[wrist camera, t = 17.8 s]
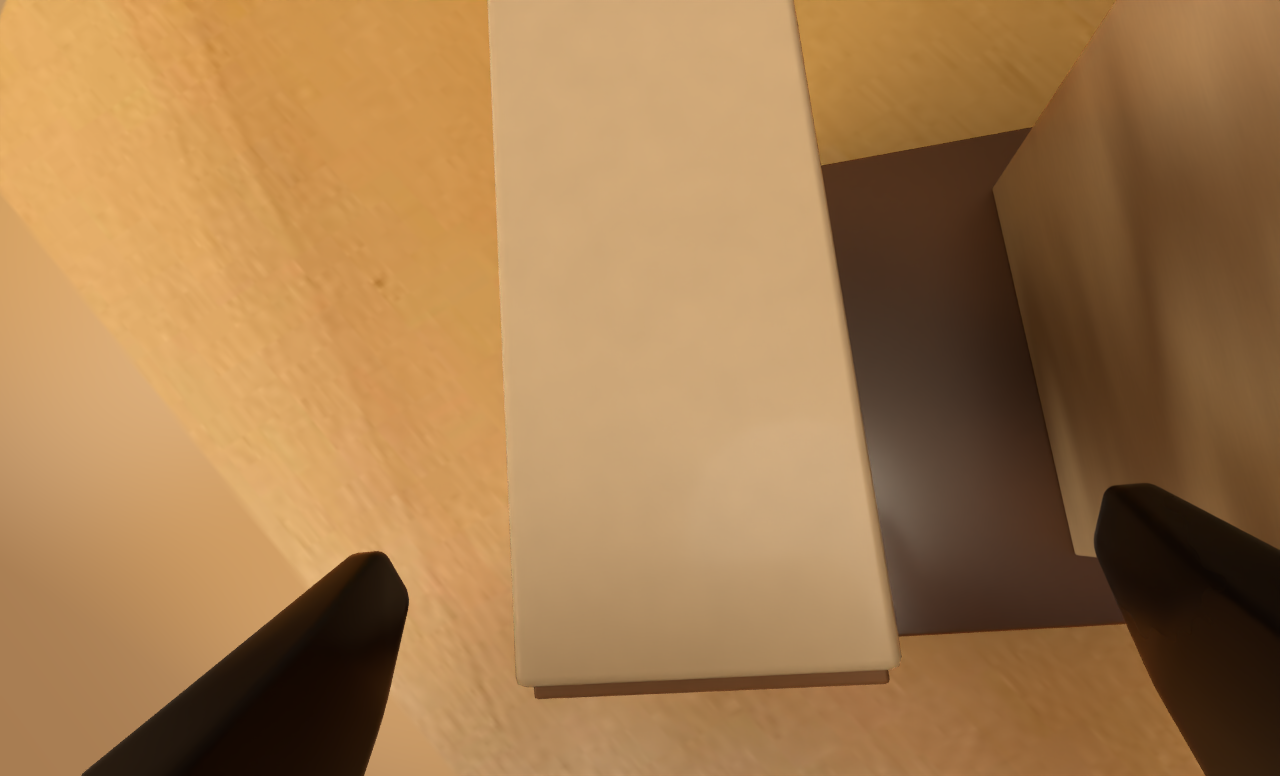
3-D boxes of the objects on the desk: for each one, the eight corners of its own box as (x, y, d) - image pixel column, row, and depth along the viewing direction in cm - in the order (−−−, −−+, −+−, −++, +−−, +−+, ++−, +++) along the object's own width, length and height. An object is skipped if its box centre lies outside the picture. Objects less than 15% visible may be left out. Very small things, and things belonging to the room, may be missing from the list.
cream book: (820, 579, 15) (908, 691, 5) (678, 589, 16) (513, 708, 6) (769, 224, 17) (763, -190, 7) (645, 245, 18) (480, -111, 8)
